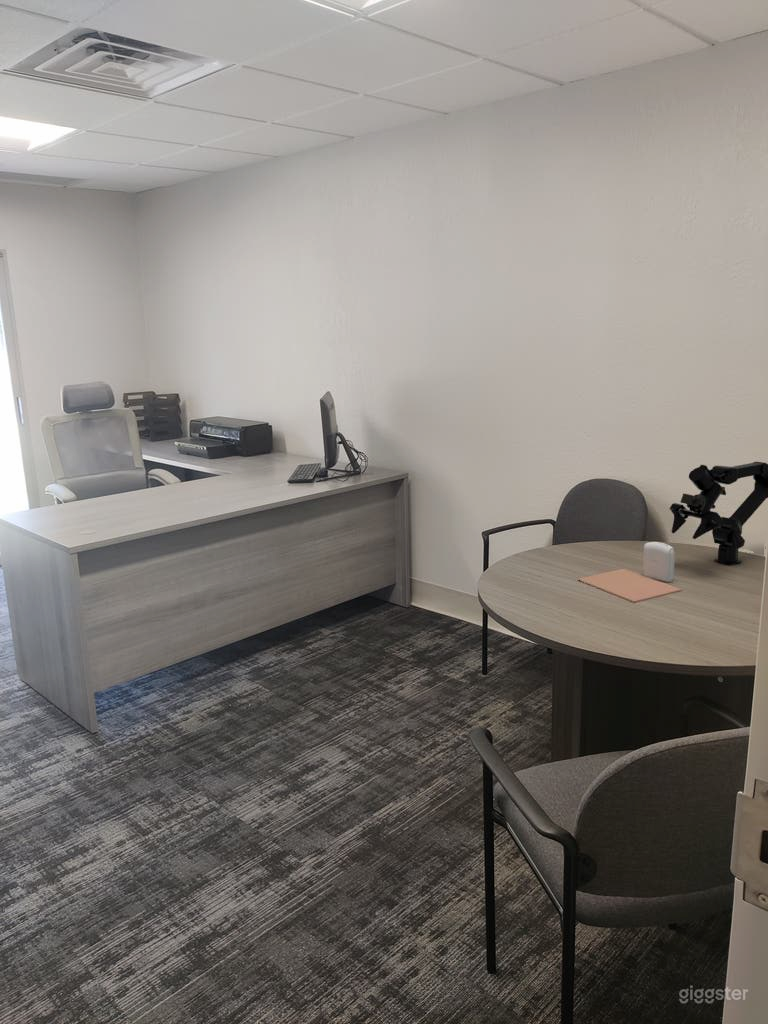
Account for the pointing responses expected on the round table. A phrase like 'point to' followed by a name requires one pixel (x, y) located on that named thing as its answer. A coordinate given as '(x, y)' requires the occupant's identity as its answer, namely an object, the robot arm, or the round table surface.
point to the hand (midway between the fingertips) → (682, 535)
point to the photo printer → (658, 561)
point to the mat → (629, 585)
